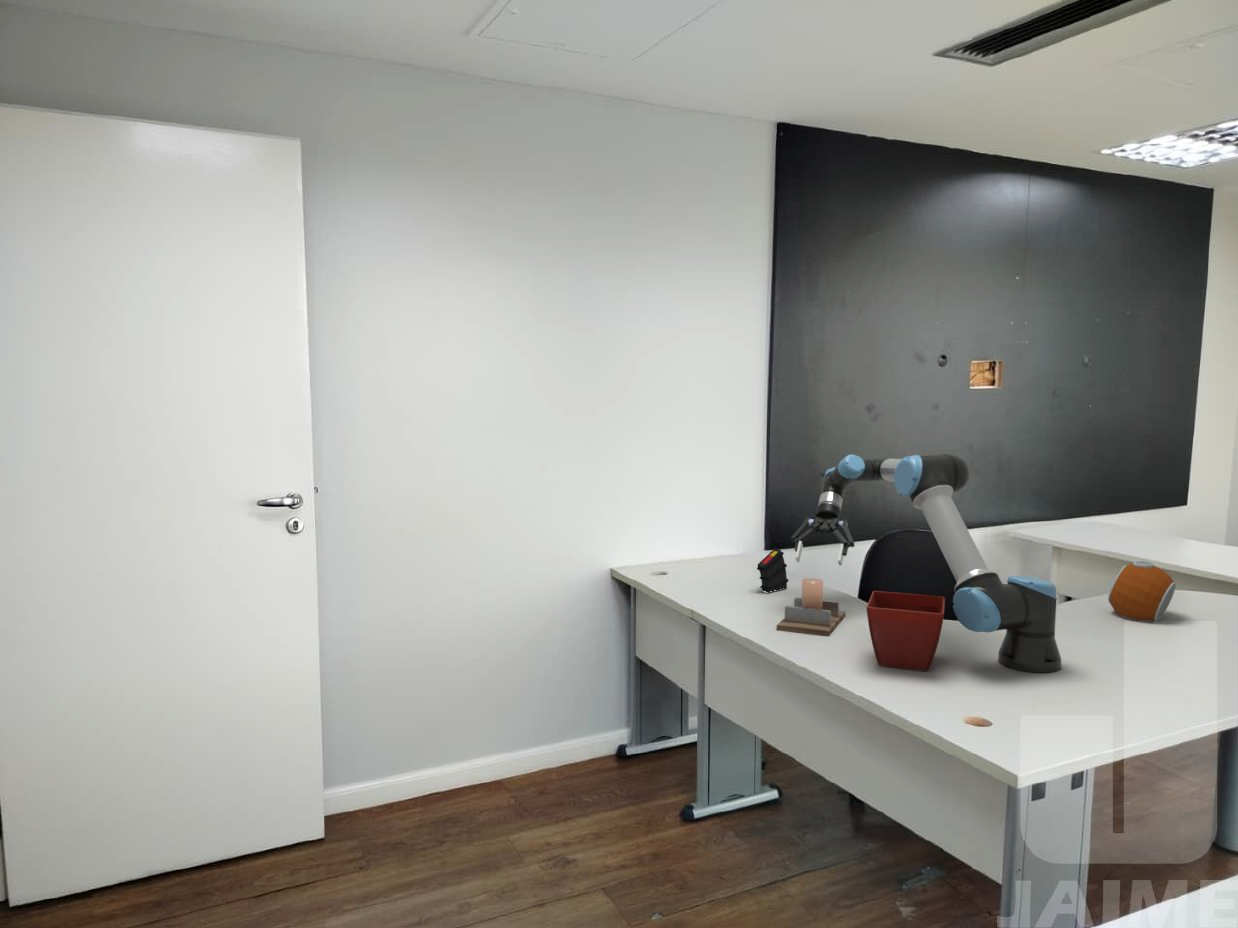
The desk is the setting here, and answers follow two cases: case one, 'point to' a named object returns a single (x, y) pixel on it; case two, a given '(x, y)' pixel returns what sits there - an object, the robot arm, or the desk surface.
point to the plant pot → (905, 628)
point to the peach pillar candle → (812, 593)
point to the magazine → (773, 571)
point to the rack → (811, 618)
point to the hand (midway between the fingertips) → (818, 561)
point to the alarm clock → (1141, 592)
